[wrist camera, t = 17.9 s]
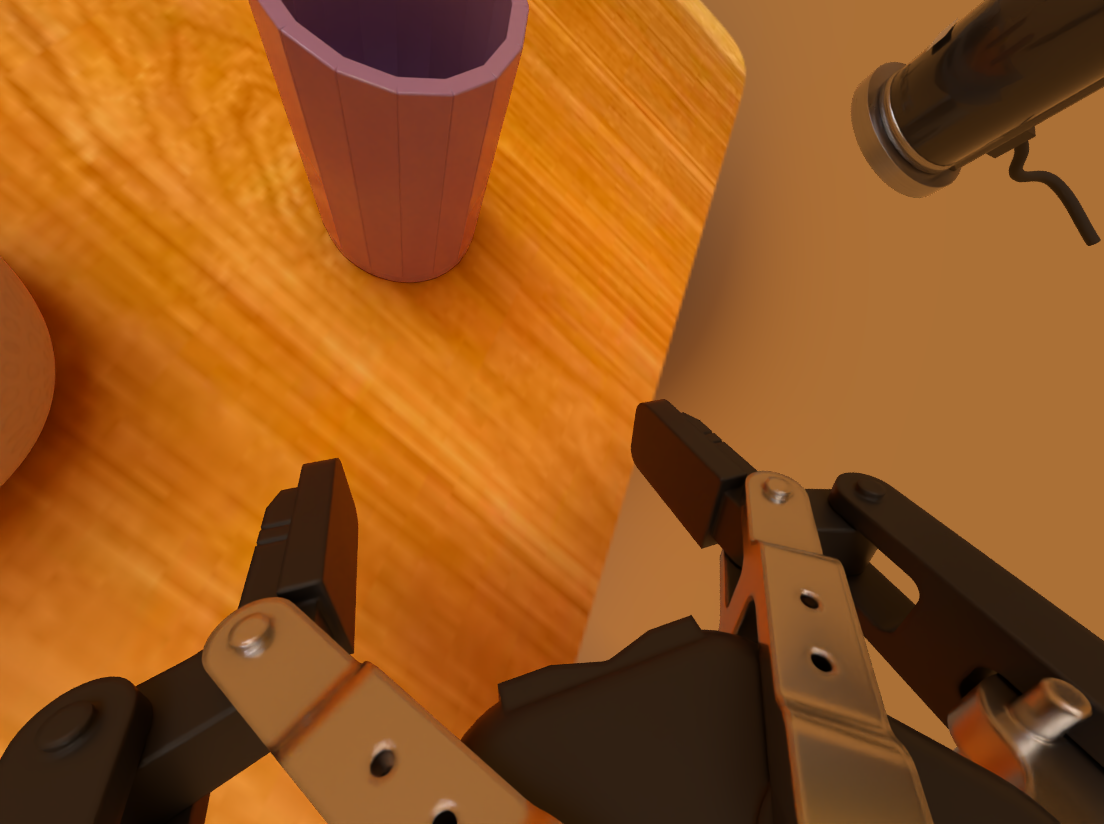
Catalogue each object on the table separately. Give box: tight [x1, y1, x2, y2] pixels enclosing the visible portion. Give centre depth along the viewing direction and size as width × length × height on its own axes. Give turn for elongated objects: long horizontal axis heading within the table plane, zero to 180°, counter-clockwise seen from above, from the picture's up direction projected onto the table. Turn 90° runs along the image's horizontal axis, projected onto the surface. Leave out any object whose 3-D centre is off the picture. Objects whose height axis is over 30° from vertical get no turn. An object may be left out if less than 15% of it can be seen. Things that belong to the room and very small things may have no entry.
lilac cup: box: [249, 0, 529, 282], centre depth 15 cm, size 6×6×10 cm
